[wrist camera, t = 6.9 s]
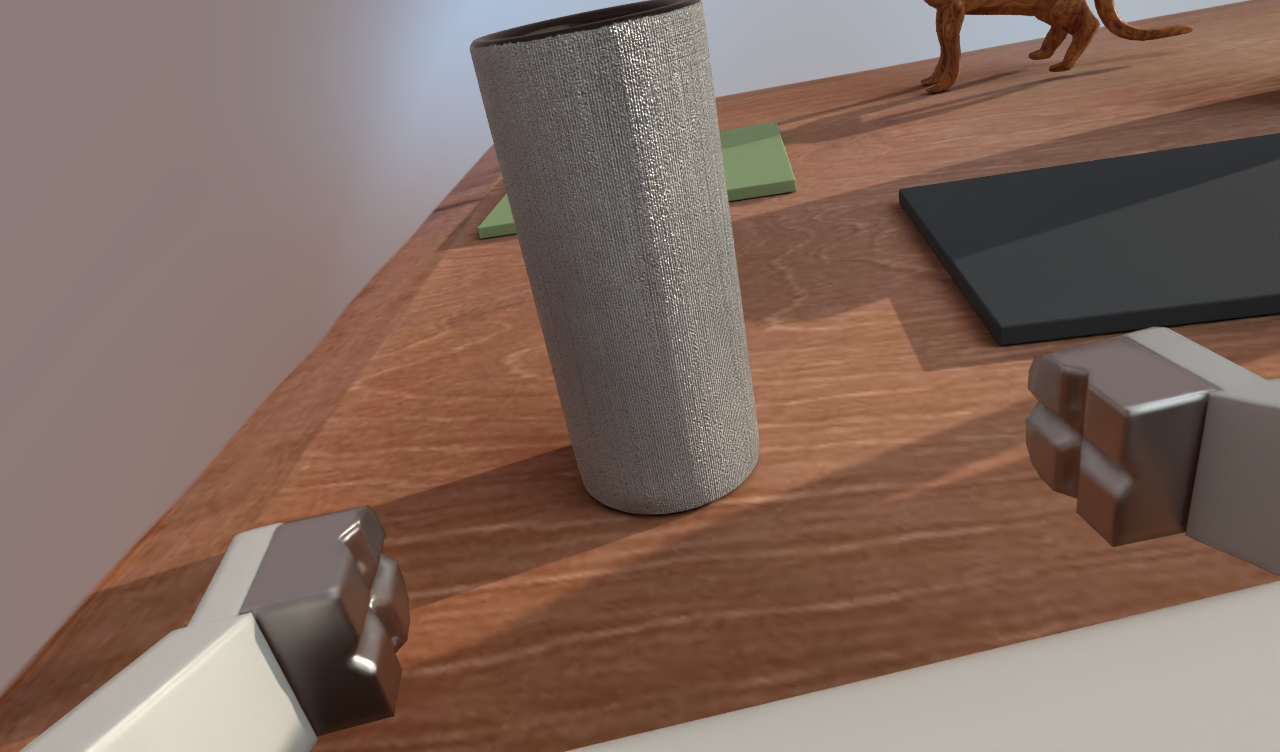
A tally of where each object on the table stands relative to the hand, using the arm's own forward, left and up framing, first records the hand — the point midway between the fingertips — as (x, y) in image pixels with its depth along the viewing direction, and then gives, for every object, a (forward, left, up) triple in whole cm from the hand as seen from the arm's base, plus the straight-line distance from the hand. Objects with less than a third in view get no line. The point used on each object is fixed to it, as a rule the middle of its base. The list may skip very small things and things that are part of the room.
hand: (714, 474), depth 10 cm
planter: (-2, +9, -6) cm, 10 cm away
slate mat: (+15, +20, -5) cm, 25 cm away
